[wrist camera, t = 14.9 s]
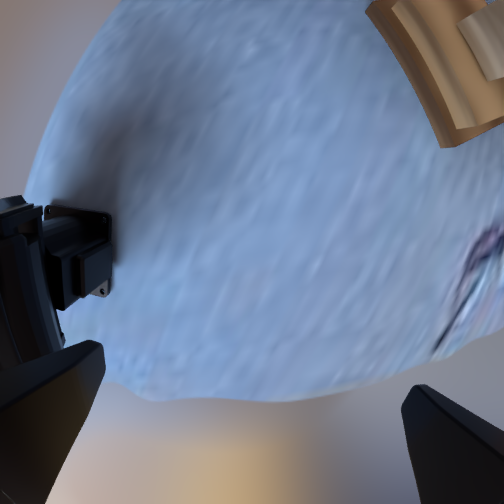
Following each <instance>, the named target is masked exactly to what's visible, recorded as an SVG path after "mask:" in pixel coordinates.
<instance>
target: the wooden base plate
mask: <svg viewBox="0 0 504 504" xmlns="http://www.w3.org/2000/svg"><path fill="white" fill-rule="evenodd" d="M397 1H398V0H376V1H373V2H372V3H371V4H370V6H369V7H368V9H367V10H366V11H365V13H366V14H367V15H368V17H369V18H370V19H371V21H372V22H373V24H374V25H375V26H376V28H377V29H378V31H379V32H380V34H381V35H382V36H383V38H384V39H385V41H386V42H387V44H388V46H389V47H390V49H391V50H392V52H393V53H394V55H395V57H396V58H397V60H398V62H399V63H400V65H401V67H402V68H403V70H404V72H405V74H406V75H407V77H408V79H409V81H410V83H411V85H412V86H413V88H414V90H415V92H416V94H417V96H418V98H419V100H420V102H421V104H422V106H423V108H424V110H425V113H426V115H427V117H428V119H429V121H430V124H431V126H432V128H433V131H434V133H435V135H436V138H437V140H438V143H439V145H440V148H450V147H456V146H458V145H460V144H462V143H464V142H466V141H468V140H470V139H472V138H474V137H476V136H478V135H480V134H482V133H484V132H486V131H488V130H490V129H492V128H494V127H496V126H498V125H500V124H502V123H504V116H501V117H499V118H496V119H494V120H491V121H489V122H487V123H484V124H482V125H479V126H475V127H468V128H462V129H456V126H455V124H454V121H453V119H452V116H451V114H450V112H449V109H448V107H447V105H446V102H445V100H444V98H443V96H442V94H441V92H440V89H439V87H438V85H437V83H436V81H435V79H434V77H433V75H432V73H431V71H430V70H429V68H428V66H427V64H426V62H425V60H424V59H423V57H422V55H421V53H420V52H419V50H418V48H417V47H416V45H415V43H414V42H413V40H412V38H411V37H410V35H409V34H408V32H407V31H406V29H405V27H404V26H403V24H402V23H401V22H400V20H399V19H398V17H397V16H396V14H395V13H394V12H393V10H392V9H391V8H392V7H393V6H394V5H395V4H396V2H397Z"/></svg>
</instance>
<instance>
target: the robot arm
mask: <svg viewBox="0 0 504 504" xmlns="http://www.w3.org/2000/svg"><path fill="white" fill-rule="evenodd" d="M49 209H50V211H51V213H50V212H49ZM42 215H43V206H42V205H40V206H34V204H28V203H26V201H25V200H24V198H23V197H22V195H18V196H11V197H6V198H1V199H0V504H45V503H46V501H47V498H48V496H49V494H50V491H51V489H52V487H53V485H54V483H55V480H56V478H57V476H58V474H59V472H60V470H61V468H62V466H63V463H64V462H65V460H66V458H67V455H68V453H69V451H70V449H71V447H72V445H73V444H74V442H75V439H76V438H77V436H78V433H79V432H80V430H81V428H82V426H83V424H84V422H85V420H86V418H87V416H88V414H89V412H90V409H91V407H92V404H93V402H94V399H95V396H96V394H97V391H98V389H99V387H100V384H101V382H102V379H103V377H104V374H105V370H106V365H105V357H104V349H103V345H102V344H101V343H99V342H96V341H93V340H86V341H83V342H81V343H78V344H75V345H72V346H70V347H67V348H64V347H63V346H64V344H65V341H66V340H65V337H64V333H63V332H62V331H61V327H60V323H59V320H58V316H57V311H56V309H58V310H61V311H64V310H65V309H67V308H68V307H69V306H70V305H72V304H73V303H74V302H75V301H77V300H78V299H79V298H85V297H86V296H87V295H89V294H92V295H95V296H99V297H106V296H107V295H109V293H110V277H111V276H112V244H111V223H112V218H111V215H110V214H109V213H106V212H100V211H93V210H87V209H80V208H73V207H66V206H59V205H52V204H51V205H47V206H46V207H45V209H44V221H42ZM103 217H105V218H106V223H105V222H104V221H103ZM102 289H104V290H105V293H104V292H103V291H102ZM401 413H402V419H403V424H404V429H405V435H406V441H407V447H408V452H409V455H410V460H411V463H412V467H413V471H414V475H415V479H416V484H417V487H418V492H419V497H420V502H421V504H504V431H502V430H501V429H499V428H497V427H495V426H494V425H492V424H490V423H489V422H487V421H485V420H484V419H482V418H480V417H479V416H477V415H475V414H473V413H472V412H470V411H469V410H466V409H465V408H464V407H462V406H460V405H459V404H457V403H455V402H454V401H452V400H450V399H449V398H447V397H445V396H444V395H442V394H440V393H439V392H437V391H435V390H434V389H432V388H430V387H429V386H428V385H425V384H420V385H414V386H413V387H412V388H411V390H410V392H409V393H408V395H407V397H406V399H405V400H404V402H403V404H402V407H401Z"/></svg>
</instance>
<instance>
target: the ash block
mask: <svg viewBox="0 0 504 504" xmlns="http://www.w3.org/2000/svg"><path fill="white" fill-rule="evenodd" d="M456 25H457V26H458V28H459V29H460V31H461V33H462V34H463V36H464V38H465V39H466V41H467V43H468V44H469V46H470V48H471V50H472V51H473V53H474V55H475V57H476V59H477V61H478V63H479V64H480V66H481V68H482V70H483V72H484V75H485V77H486V79H487V81H492V80H495V79H499V78H503V77H504V0H496V1H494V2H492V3H490V4H489V5H487V6H485V7H483V8H482V9H480V10H478V11H476V12H475V13H473V14H471V15H470V16H468V17H466V18H465V19H463V20H461V21H460V22H458V23H456Z"/></svg>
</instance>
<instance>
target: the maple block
mask: <svg viewBox="0 0 504 504" xmlns="http://www.w3.org/2000/svg"><path fill="white" fill-rule="evenodd" d="M485 6H487V3H486V2H485V0H398V1H397V2H396V4H395V5H394V6H393V7H392V8H391V9H392V10H393V12H394V13H395V14H396V16H397V17H398V19H399V20H400V22H401V23H402V24H403V26H404V27H405V29H406V31H407V32H408V34H409V35H410V37H411V38H412V40H413V42H414V43H415V45H416V47H417V48H418V50H419V52H420V53H421V55H422V57H423V59H424V60H425V62H426V64H427V66H428V68H429V70H430V71H431V73H432V75H433V77H434V79H435V81H436V83H437V85H438V87H439V89H440V92H441V94H442V96H443V98H444V100H445V102H446V105H447V107H448V109H449V112H450V114H451V116H452V119H453V121H454V124H455V126H456V129H462V128H468V127H475V126H479V125H482V124H484V123H487V122H489V121H491V120H494V119H496V118H499V117H501V116H504V77H503V78H499V79H495V80H492V81H487V79H486V77H485V75H484V72H483V70H482V68H481V66H480V64H479V63H478V61H477V59H476V57H475V55H474V53H473V51H472V50H471V48H470V46H469V44H468V43H467V41H466V39H465V38H464V36H463V34H462V33H461V31H460V29H459V28H458V26H457V25H456V23H458V22H460V21H461V20H463V19H465V18H466V17H468V16H470V15H471V14H473V13H475V12H476V11H478V10H480V9H482V8H483V7H485Z"/></svg>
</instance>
